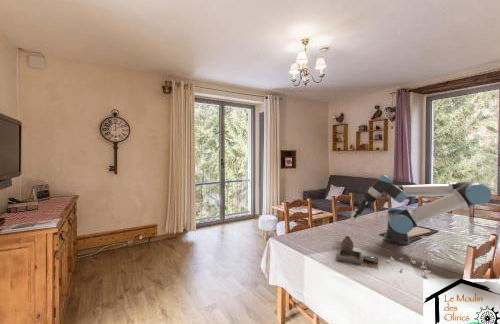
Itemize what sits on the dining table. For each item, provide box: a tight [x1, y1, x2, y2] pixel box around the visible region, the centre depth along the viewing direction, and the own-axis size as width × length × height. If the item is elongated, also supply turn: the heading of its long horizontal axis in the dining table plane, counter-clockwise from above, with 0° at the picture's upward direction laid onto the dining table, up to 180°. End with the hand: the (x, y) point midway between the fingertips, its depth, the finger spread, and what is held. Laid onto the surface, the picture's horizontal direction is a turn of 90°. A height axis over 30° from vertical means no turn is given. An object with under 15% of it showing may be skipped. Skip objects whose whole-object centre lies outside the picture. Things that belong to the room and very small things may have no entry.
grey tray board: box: [336, 248, 379, 266], centre depth 134 cm, size 20×12×3 cm, turn 65°
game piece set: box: [386, 256, 432, 277], centre depth 128 cm, size 19×20×4 cm
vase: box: [340, 235, 354, 251], centre depth 149 cm, size 7×7×9 cm
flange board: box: [337, 254, 379, 270], centre depth 134 cm, size 20×14×1 cm
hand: (351, 218), depth 168 cm, fingers open, 13 cm apart
